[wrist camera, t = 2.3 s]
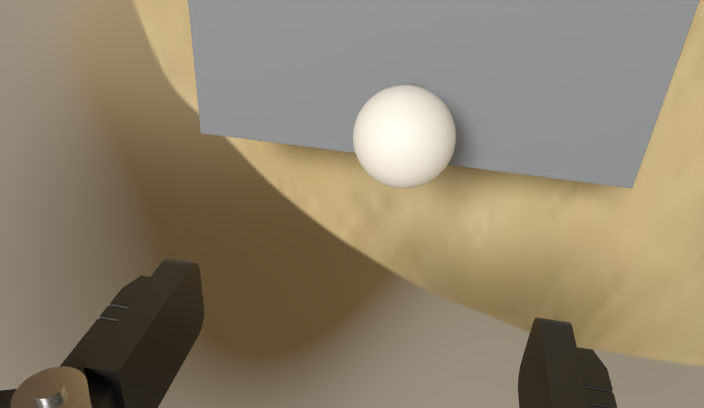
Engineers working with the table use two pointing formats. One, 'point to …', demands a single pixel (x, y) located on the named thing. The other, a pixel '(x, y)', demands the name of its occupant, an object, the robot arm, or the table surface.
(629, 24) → the lid
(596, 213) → the table surface
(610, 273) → the table surface
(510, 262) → the table surface
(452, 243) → the table surface
